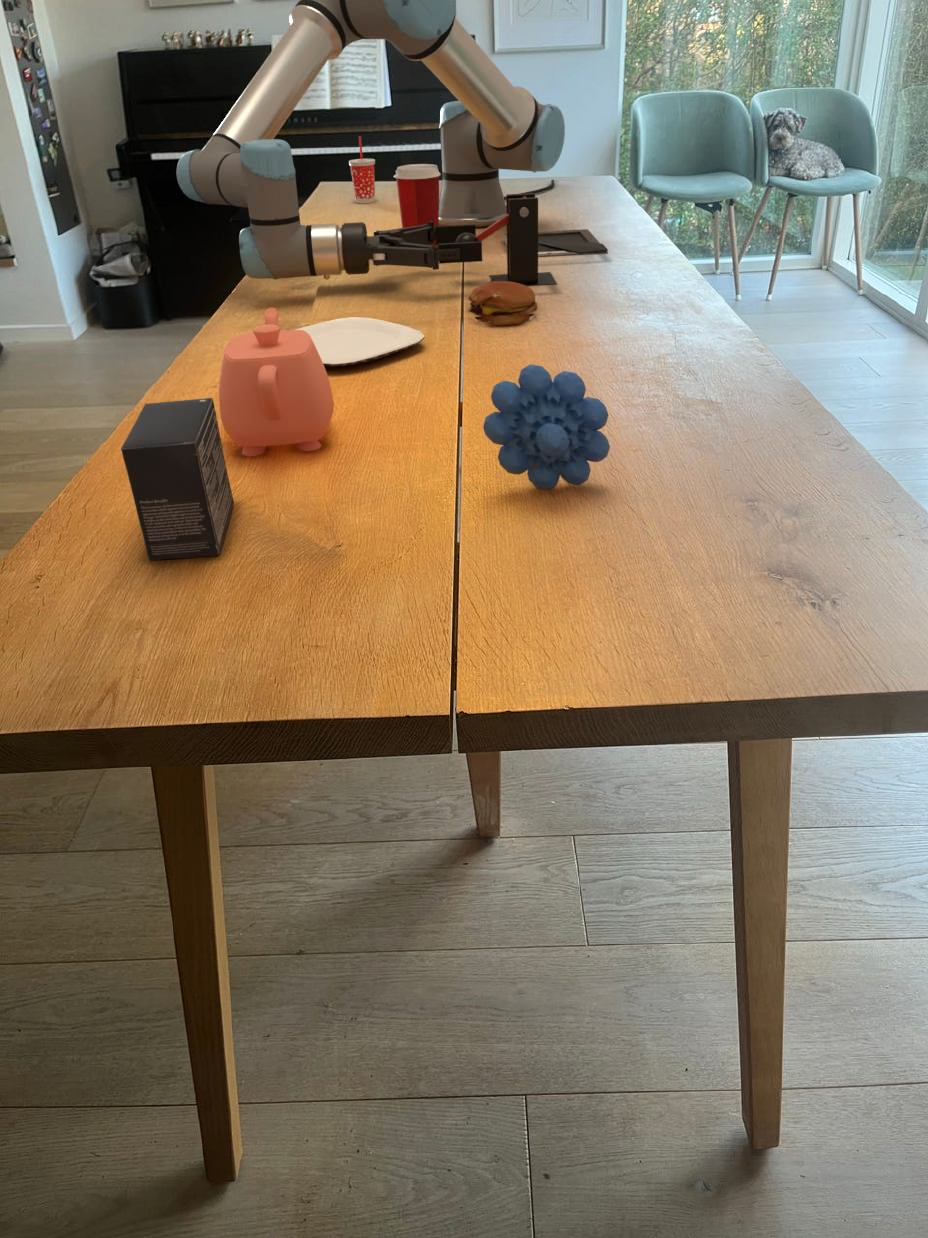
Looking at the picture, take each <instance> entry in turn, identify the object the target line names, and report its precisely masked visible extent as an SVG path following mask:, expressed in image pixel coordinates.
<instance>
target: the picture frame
mask: <svg viewBox="0 0 928 1238" xmlns="http://www.w3.org/2000/svg"><path fill="white" fill-rule="evenodd" d="M504 244H505V246H506V247H507V232H506V233H504ZM552 252H553V253H552ZM608 254H609V249H608V248H607V247H606V246H605V245H604V243H601V242H600V241H599V240H598V239H597V237H595V236H594V234H593V233H592V232H591V231H590V230H589V229H588V228H586V229H585V228H584V229H565V230H546V231H545V230H544V231H538V258H552V257H553V258H555V257H570V256H571V257H572V256H589V255H590V256H591V255H592V256H593V255H608Z"/></svg>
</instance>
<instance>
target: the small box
mask: <svg viewBox="0 0 928 1238" xmlns="http://www.w3.org/2000/svg"><path fill="white" fill-rule="evenodd" d="M222 443H223V442H222V437H221V433H220V428H219V422H218V418H217V411H216V408H215V401H214V398H213V397H207V398H206V397H205V398H195V399H182V400H172V401H160V402H150V403H149V402H148V403H144V405H143V406H142V409H141V411H140V412H139V415H138V416H137V419H136V420H135V422H134V424H133V426H132V427H131V429H130V431H129V433H128V435H127V437H126V438H125V440H124V441H123V443H122V446H121V447H120V451H121V454H122V458H123V463H124V466H125V470H126V473H127V478H128V481H129V486H130V490H131V494H132V498H133V501H134V505H135V510H136V515H137V518H138V522H139V527H140V530H141V533H142V538H143V543H144V546H145V551H146V555H147V558H148V560H149V561H159V560H160V561H161V560H174V559H175V560H176V559H187V558H201V557H213V556H214V557H215V556H219V555H221V551H222V548H223V546H224V541H225V537H226V533H227V530H228V526H229V524H230V523H229V522H230V519H231V515H232V512H233V509H234V508H233V507H234V504H235V501H234V496H233V493H232V488H231V484H230V483H231V482H230V479H229V474H228V468H227V465H226V459H225V454H224V449H223V444H222Z"/></svg>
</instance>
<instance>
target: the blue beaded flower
mask: <svg viewBox="0 0 928 1238" xmlns="http://www.w3.org/2000/svg"><path fill="white" fill-rule="evenodd" d="M517 381H518V384H517V383H516V382H513V381H509V380H502V381H500V382H498V383H497V384H495V385H493V387H492V391H491V395H490V399H491V402H492V405H493V406H494V407H495V409H497V410H498V411H493V412H492V413H489V414H488V415H487V416H486V417H485V419H484V422H483V429H482V430H483V432H484V435H485V436H486V438H487V439H488V440H490V441H491V442H492V444H494V445H498V446H500V447H499V451H498V454H497V459H498V463H499V466H501V468H502V469H504V471H505V472H507V473H508V474H512V475H517V476H518V475H522V474H524V473H525V472H526V475H527V478H528V481H529V482H530V483H531V484H532V485H533V486H534V487H535V488H536V489H539V490H542V491H549V490H552V489H554V488H556V486H558V483H559V480H560V477H561V478H562V480H563V481H565V482H566V483H567V484H569V485H573V486H580V485H583V484H585V483H586V482H587V481H588V480H589V478H590V474H591V471H592V469H591V466H590V463H589V462H592V463H599V462H601V461H603V460H605V459H606V458H607V457H608V454H609V452H610V449H611V445H610V443H609V440H608V438H607V437H606V435H605V434H604V433H603V432H602V431H600V430H601V429H603V428H604V427H605V426H606V424H607V421H608V419H609V412H608V409H607V407H606V404H605V403H603V402H602V401H601V400H600V399H599V398H595V397H590V396H586V397H585V394H586V391H587V389H586V384H585V381H584V380H583V379H582V377H581V376H579V375H578V373H576V372H572V371H567V370H563V371H561V372H559V373H557V374H556V375H555V376H554V378H552V376H551V374H550V372H549V371H548V370H547V369H546V368H545V367H544V366H542V365H539V364H538V365H537V364H532V363H531V364H530V363H529V364H528V365H527V366H525V367H523V368H522V369H521V370H520V373H519V376H518V380H517Z"/></svg>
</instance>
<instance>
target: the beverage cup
mask: <svg viewBox="0 0 928 1238" xmlns="http://www.w3.org/2000/svg"><path fill="white" fill-rule="evenodd" d="M358 145H359V156H360V158H356V159H350V160H348V165H349V167H350V174H351V179H352V186H353V187H352V188H353V193H354V198H355V203H356V204H372V203H375V202H376V184H375V183H376V182H375V180H376V178H375V164H376V159H374V158H364V157H363V155H364V154H363V146H362V145H363V144H362V136H361V135H360V136H358Z"/></svg>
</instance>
